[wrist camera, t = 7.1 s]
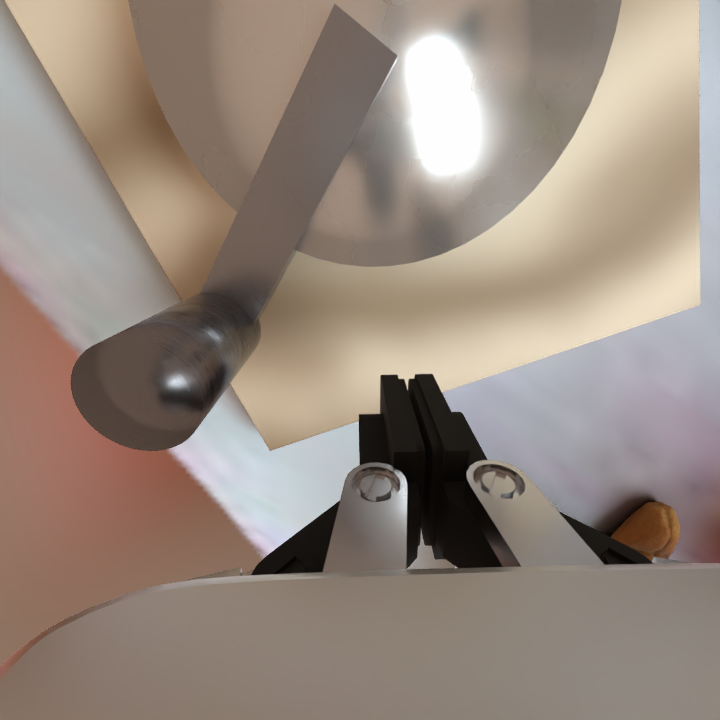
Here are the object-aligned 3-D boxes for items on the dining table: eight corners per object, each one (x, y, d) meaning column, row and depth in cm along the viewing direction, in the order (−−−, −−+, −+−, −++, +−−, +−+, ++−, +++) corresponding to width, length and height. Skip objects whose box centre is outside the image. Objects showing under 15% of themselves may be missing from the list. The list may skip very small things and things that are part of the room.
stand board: (-143, -307, 9) (-250, -421, 7) (621, -881, 7) (705, -1229, 5) (276, 432, 18) (268, 453, 16) (668, 296, 15) (704, 306, 14)
